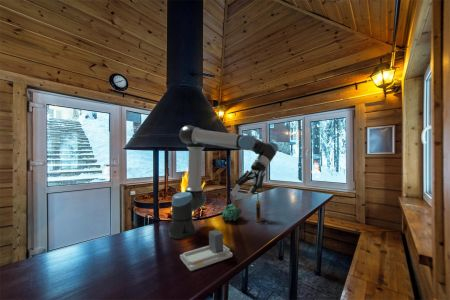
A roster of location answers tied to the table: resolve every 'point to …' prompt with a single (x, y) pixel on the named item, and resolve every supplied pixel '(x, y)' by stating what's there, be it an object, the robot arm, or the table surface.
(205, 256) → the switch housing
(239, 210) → the mineral
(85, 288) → the table surface
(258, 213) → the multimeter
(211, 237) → the switch tab
